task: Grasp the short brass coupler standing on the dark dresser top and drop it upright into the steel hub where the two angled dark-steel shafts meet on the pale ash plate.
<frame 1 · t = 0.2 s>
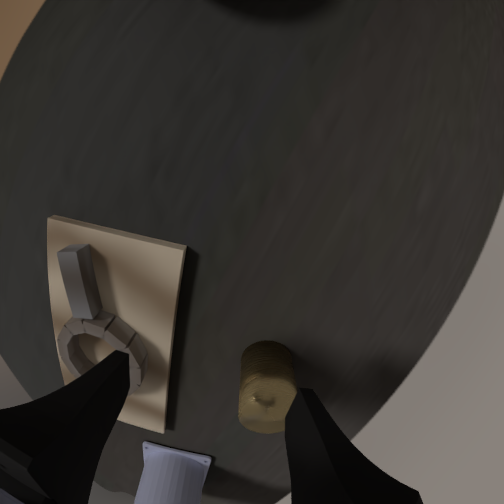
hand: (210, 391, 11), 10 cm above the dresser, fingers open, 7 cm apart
coupling plate: (110, 342, 22), on the dresser
brass coupler: (266, 360, 22), on the dresser
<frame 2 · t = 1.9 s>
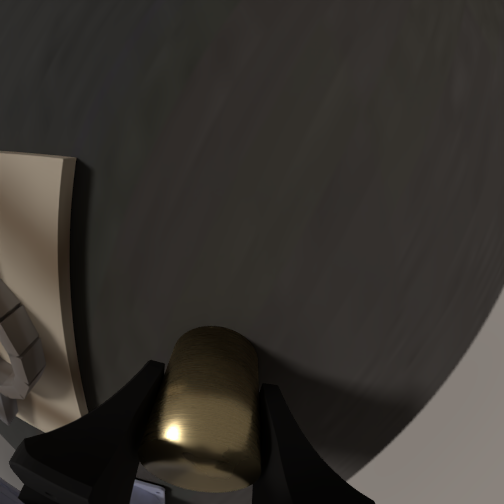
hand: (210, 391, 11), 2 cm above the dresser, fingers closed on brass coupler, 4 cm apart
coupling plate: (8, 321, 13), on the dresser
brass coupler: (215, 361, 13), on the dresser, touching gripper
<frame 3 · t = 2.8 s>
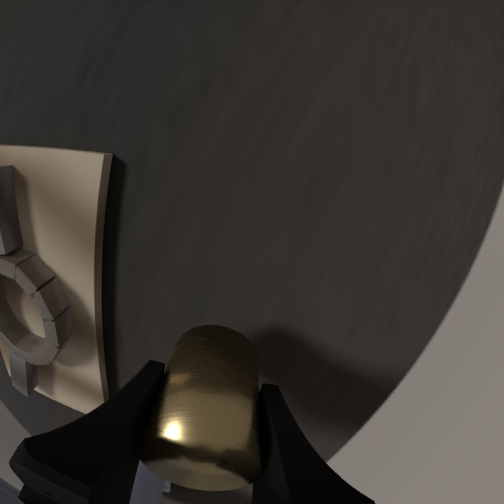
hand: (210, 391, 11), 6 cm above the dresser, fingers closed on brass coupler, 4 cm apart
coupling plate: (38, 295, 16), on the dresser
brass coupler: (215, 360, 13), point 3 cm above the dresser, touching gripper
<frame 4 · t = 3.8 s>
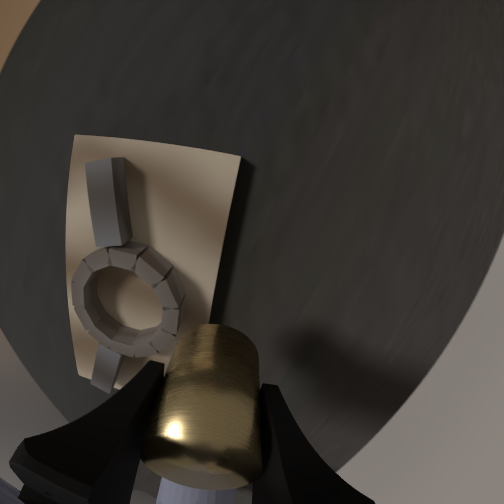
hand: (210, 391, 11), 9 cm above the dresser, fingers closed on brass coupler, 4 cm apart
coupling plate: (136, 288, 19), on the dresser
brass coupler: (215, 359, 13), point 7 cm above the dresser, touching gripper
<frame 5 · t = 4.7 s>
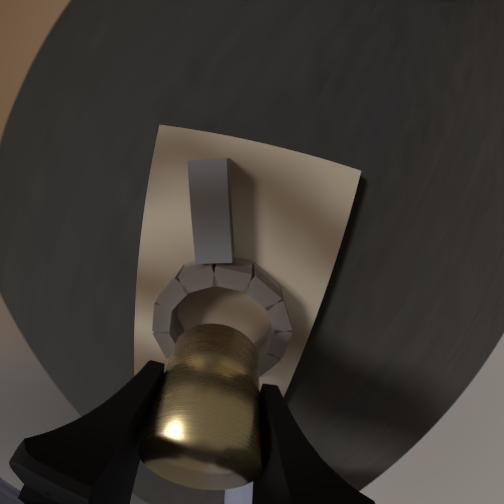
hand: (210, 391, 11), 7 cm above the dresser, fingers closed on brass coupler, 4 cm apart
coupling plate: (224, 307, 18), on the dresser
brass coupler: (215, 358, 13), point 5 cm above the dresser, touching gripper
when the fingers open (4 cm above the dresser, at t = 5.7 s): brass coupler stays where it is, resting on coupling plate.
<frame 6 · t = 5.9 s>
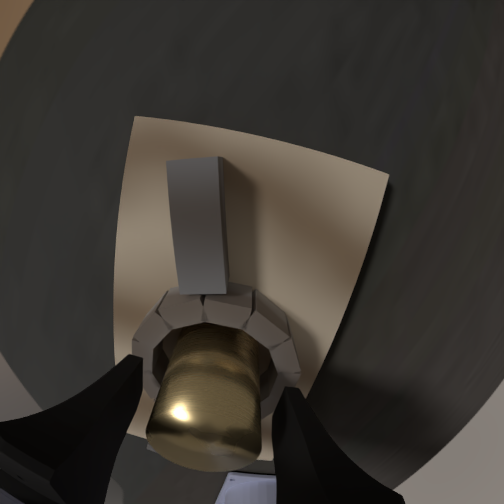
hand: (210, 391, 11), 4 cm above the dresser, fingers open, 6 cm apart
coupling plate: (219, 338, 15), on the dresser
brass coupler: (217, 347, 14), point 1 cm above the dresser, touching coupling plate
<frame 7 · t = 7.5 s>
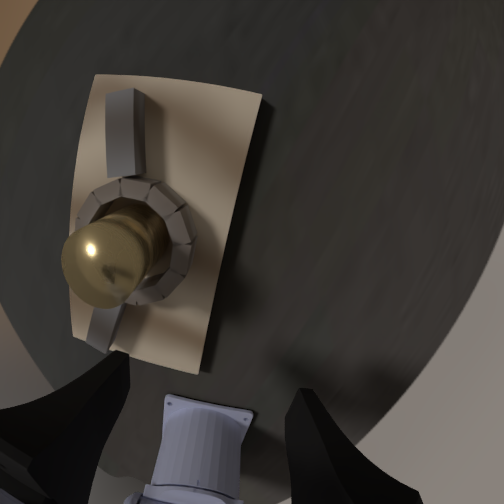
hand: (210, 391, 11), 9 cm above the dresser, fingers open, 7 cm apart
coupling plate: (144, 232, 19), on the dresser
brass coupler: (139, 235, 18), point 1 cm above the dresser, touching coupling plate
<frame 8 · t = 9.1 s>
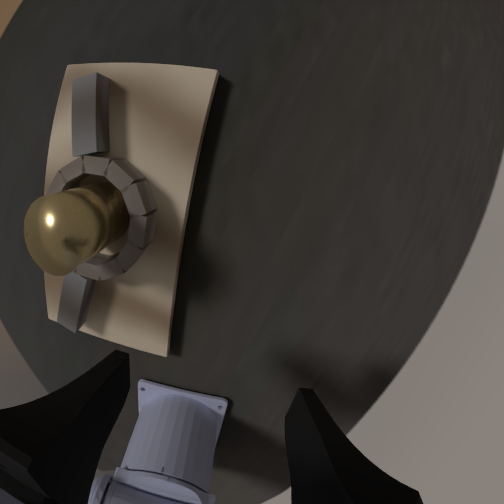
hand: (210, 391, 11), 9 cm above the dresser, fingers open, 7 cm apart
coupling plate: (110, 210, 18), on the dresser
brass coupler: (104, 212, 17), point 1 cm above the dresser, touching coupling plate
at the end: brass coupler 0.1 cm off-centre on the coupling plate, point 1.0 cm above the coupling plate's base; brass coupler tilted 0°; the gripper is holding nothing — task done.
